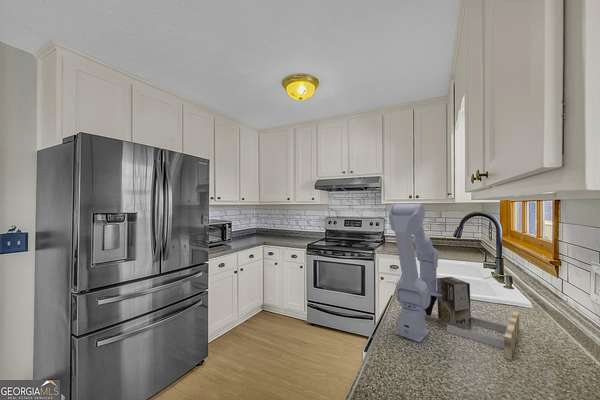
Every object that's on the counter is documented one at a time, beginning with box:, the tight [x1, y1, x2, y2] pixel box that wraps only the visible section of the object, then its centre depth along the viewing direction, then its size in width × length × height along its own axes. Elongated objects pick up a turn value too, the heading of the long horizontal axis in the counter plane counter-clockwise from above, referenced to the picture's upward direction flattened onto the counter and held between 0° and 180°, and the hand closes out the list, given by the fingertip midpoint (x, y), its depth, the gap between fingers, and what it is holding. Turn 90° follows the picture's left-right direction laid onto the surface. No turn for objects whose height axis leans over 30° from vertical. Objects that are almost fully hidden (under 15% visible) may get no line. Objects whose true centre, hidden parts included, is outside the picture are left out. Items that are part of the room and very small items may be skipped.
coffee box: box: [437, 276, 472, 330], centre depth 92 cm, size 9×6×16 cm
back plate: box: [503, 310, 520, 361], centre depth 80 cm, size 24×2×6 cm, turn 135°
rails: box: [446, 315, 508, 350], centre depth 86 cm, size 13×16×2 cm
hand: (428, 314), depth 97 cm, fingers closed
